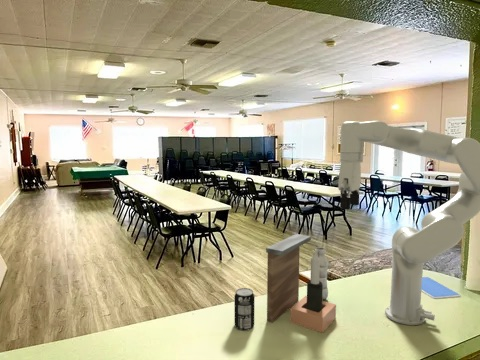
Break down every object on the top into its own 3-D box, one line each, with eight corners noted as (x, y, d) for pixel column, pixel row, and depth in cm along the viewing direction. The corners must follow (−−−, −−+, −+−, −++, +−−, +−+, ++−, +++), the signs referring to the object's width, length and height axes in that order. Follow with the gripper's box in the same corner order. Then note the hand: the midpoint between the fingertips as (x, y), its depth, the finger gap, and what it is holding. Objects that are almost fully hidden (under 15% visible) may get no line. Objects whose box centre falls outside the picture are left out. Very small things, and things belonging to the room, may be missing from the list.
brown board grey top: (309, 303, 134) (310, 236, 131) (281, 328, 116) (282, 251, 113) (294, 299, 137) (296, 233, 134) (265, 322, 119) (266, 247, 117)
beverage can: (244, 319, 122) (244, 285, 121) (258, 326, 117) (258, 291, 116) (230, 326, 117) (230, 291, 116) (244, 333, 113) (244, 297, 111)
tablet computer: (461, 298, 140) (462, 294, 140) (433, 300, 138) (433, 297, 138) (428, 279, 159) (428, 276, 159) (402, 281, 157) (402, 278, 156)
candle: (321, 324, 118) (323, 252, 115) (306, 323, 119) (307, 251, 117) (321, 317, 123) (323, 247, 120) (306, 315, 124) (308, 246, 122)
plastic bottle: (321, 304, 133) (322, 252, 131) (307, 298, 138) (308, 248, 136) (331, 299, 137) (333, 249, 135) (317, 293, 142) (318, 245, 140)
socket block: (335, 318, 123) (336, 304, 122) (322, 332, 113) (323, 317, 113) (305, 309, 129) (305, 296, 129) (290, 322, 120) (290, 308, 119)
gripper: (348, 156, 131) (347, 202, 133) (331, 158, 117) (330, 209, 119) (369, 157, 126) (367, 204, 128) (354, 159, 112) (352, 212, 114)
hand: (349, 206), depth 123 cm, fingers open, 9 cm apart
